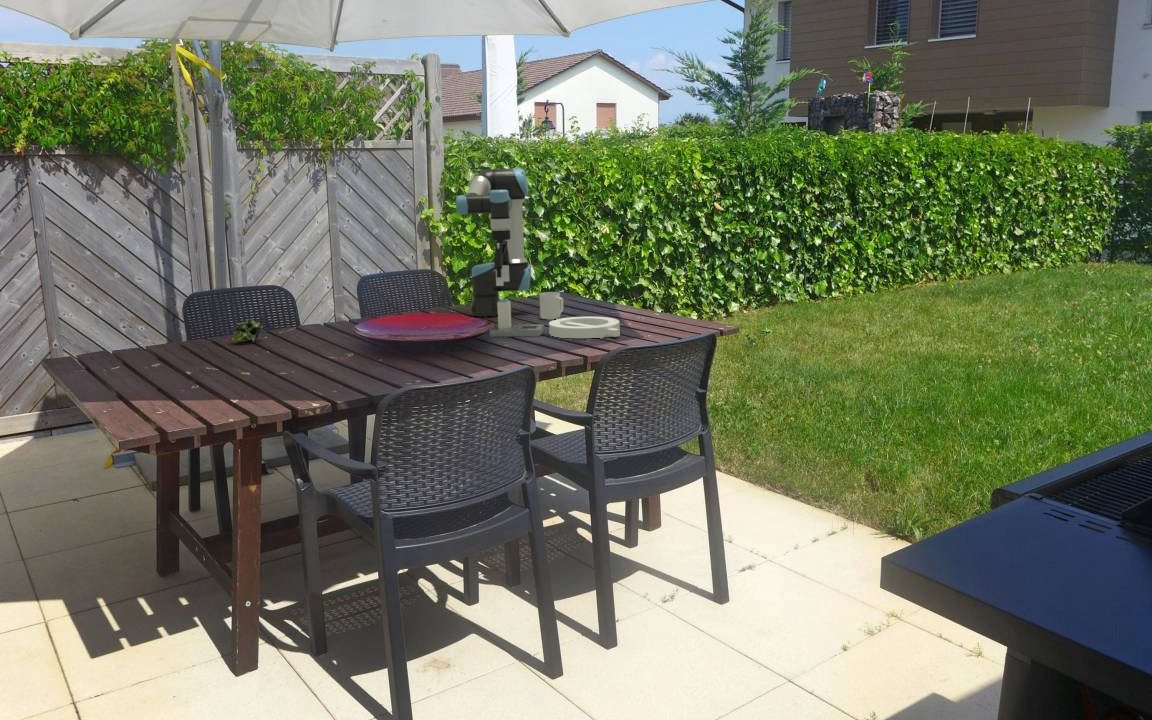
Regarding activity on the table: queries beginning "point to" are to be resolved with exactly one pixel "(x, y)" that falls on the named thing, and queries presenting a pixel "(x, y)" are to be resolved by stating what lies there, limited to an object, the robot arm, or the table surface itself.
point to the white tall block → (504, 314)
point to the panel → (518, 331)
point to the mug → (550, 305)
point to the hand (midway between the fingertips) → (502, 283)
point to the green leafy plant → (248, 330)
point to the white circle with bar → (584, 327)
